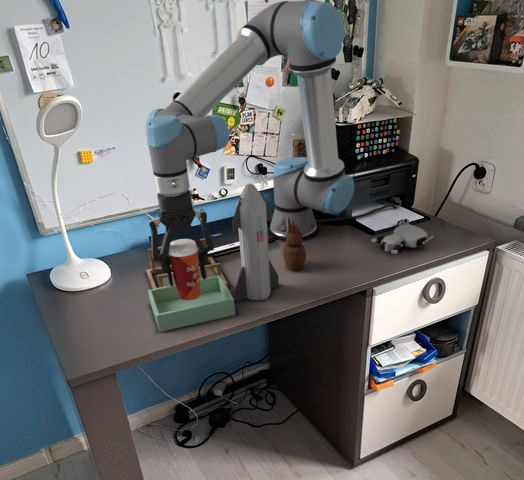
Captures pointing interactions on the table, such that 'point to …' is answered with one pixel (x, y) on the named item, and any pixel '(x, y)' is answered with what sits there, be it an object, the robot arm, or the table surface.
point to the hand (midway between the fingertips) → (187, 280)
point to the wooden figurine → (294, 248)
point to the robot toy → (402, 238)
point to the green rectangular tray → (191, 304)
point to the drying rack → (157, 270)
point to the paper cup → (185, 268)
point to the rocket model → (253, 246)
